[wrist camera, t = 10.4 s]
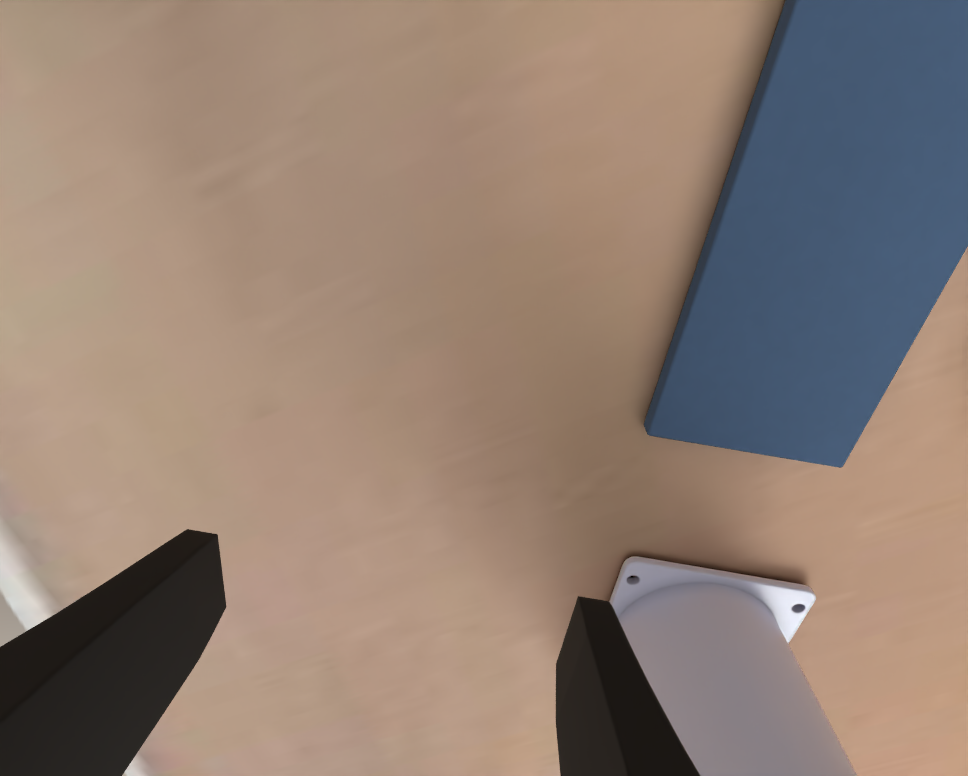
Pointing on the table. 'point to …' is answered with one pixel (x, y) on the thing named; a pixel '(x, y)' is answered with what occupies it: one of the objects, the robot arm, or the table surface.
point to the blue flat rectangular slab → (825, 232)
